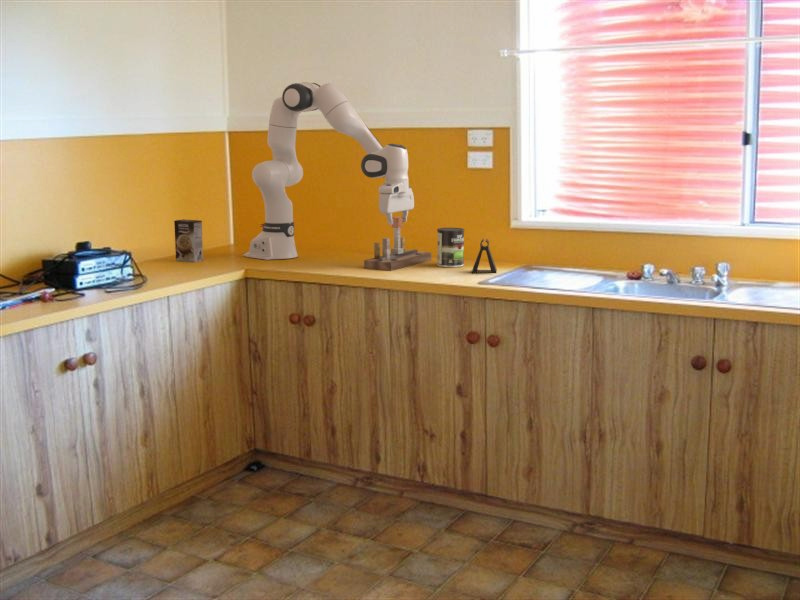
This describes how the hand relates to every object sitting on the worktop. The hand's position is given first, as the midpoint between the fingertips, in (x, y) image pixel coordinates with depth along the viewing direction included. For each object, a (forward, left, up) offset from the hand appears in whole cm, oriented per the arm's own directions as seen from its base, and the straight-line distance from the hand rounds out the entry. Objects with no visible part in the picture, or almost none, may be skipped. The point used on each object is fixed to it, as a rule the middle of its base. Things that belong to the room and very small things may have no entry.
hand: (397, 223), depth 377 cm
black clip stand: (+37, +1, -16) cm, 40 cm away
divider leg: (0, 0, -12) cm, 12 cm away
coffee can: (+19, +8, -16) cm, 26 cm away
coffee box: (-76, -34, -16) cm, 85 cm away
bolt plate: (0, +1, -16) cm, 16 cm away
